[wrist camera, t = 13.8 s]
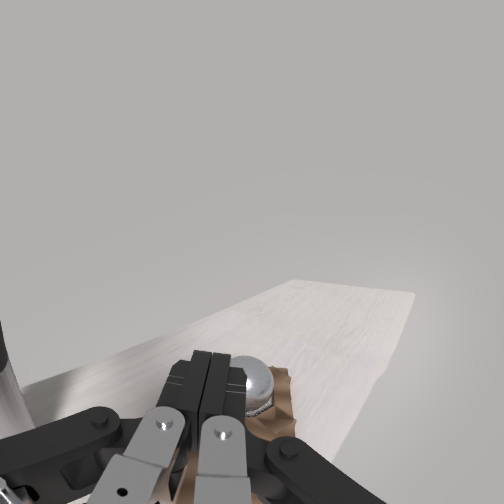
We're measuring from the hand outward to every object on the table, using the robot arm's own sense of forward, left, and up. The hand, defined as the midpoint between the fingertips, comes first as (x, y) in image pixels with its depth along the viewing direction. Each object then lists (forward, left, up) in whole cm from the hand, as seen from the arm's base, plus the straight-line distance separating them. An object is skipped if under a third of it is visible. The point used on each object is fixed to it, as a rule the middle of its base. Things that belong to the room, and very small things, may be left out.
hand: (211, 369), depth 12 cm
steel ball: (-14, +29, -27) cm, 42 cm away
